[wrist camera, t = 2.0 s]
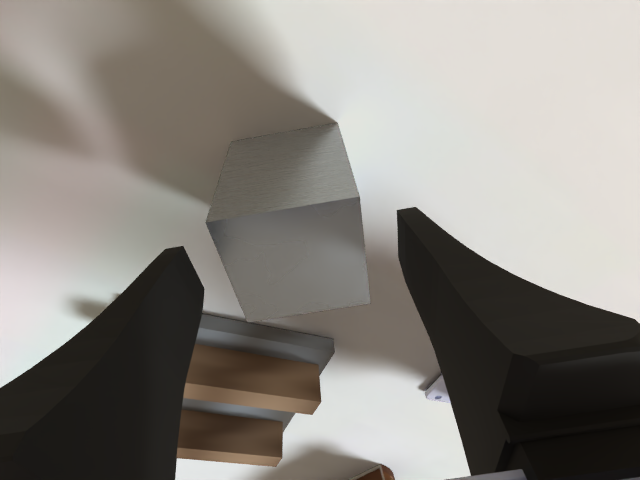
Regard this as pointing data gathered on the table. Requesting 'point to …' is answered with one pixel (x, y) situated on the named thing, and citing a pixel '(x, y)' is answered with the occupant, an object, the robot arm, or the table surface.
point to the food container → (376, 474)
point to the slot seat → (247, 390)
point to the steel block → (290, 224)
